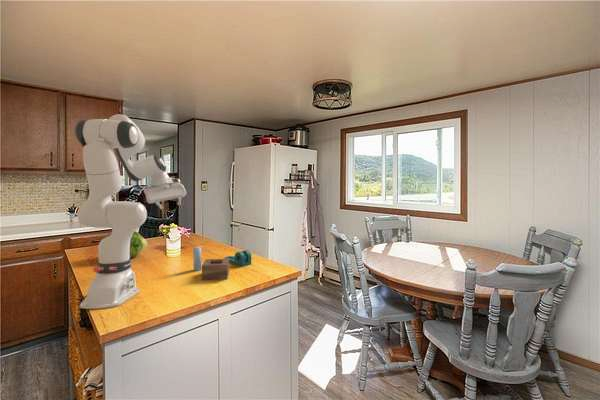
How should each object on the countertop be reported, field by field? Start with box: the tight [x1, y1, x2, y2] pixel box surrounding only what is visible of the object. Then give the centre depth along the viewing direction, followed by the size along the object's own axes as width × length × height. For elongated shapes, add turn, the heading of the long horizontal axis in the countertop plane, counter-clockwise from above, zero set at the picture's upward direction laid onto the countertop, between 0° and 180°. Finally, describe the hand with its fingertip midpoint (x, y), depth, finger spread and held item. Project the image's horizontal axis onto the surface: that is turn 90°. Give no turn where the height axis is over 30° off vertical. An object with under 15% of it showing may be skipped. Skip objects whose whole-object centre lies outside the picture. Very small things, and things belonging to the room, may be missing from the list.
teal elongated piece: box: [224, 249, 252, 268], centre depth 174 cm, size 18×7×8 cm, turn 52°
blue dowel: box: [192, 246, 202, 272], centre depth 159 cm, size 4×4×12 cm
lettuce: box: [106, 230, 148, 259], centre depth 181 cm, size 19×23×18 cm
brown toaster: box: [201, 258, 230, 281], centre depth 150 cm, size 12×12×7 cm
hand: (171, 206), depth 160 cm, fingers open, 8 cm apart
